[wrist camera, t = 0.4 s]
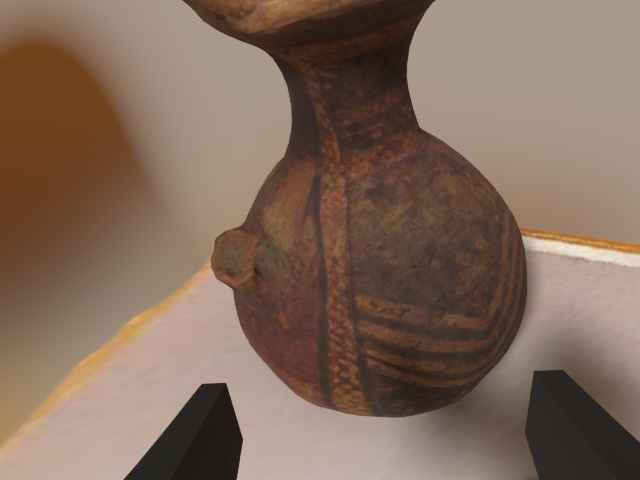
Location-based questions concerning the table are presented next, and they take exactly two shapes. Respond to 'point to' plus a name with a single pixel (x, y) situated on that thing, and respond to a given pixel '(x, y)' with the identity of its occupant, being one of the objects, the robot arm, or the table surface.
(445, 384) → the jug
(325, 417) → the table surface
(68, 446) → the table surface
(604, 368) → the table surface
